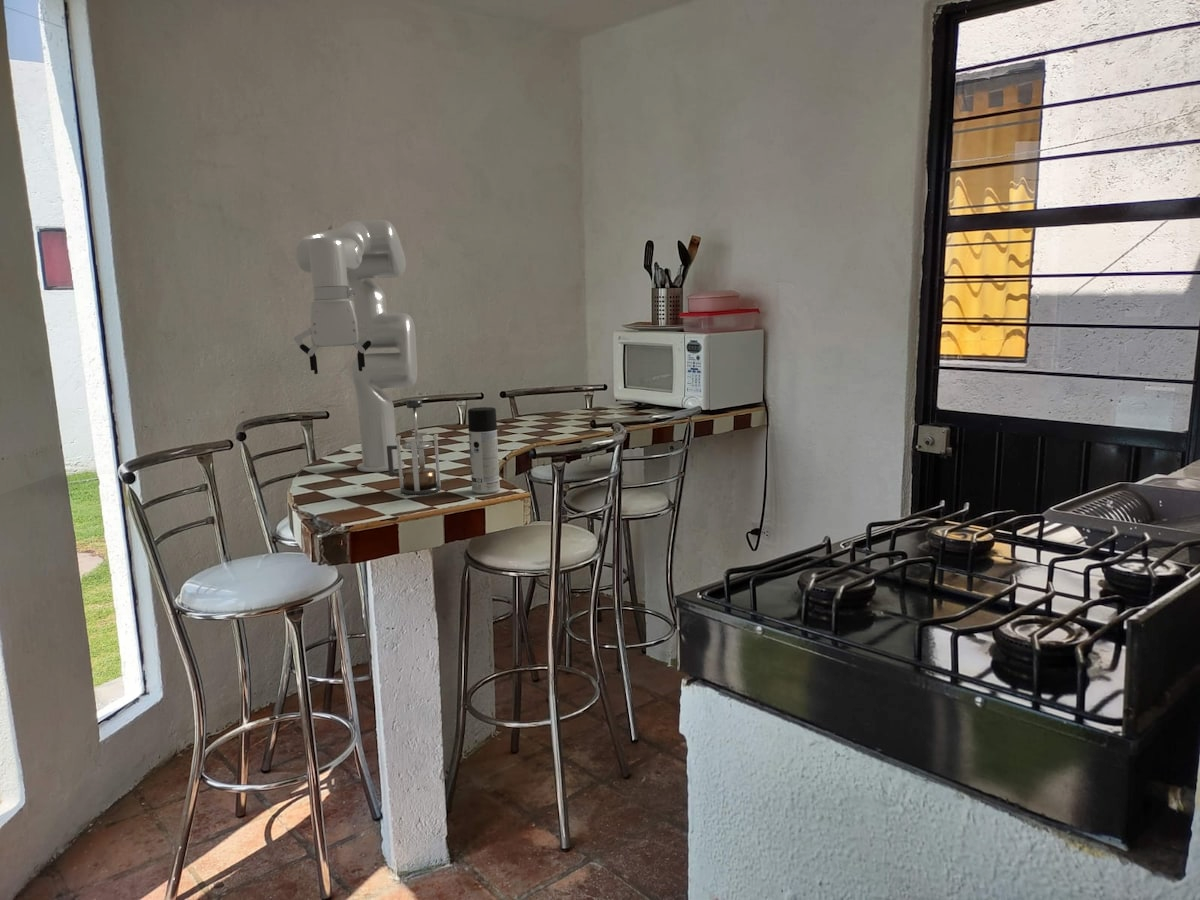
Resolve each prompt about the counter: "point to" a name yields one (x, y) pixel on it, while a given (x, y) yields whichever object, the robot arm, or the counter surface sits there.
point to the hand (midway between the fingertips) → (338, 372)
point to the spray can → (483, 450)
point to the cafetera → (415, 469)
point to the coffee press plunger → (423, 444)
